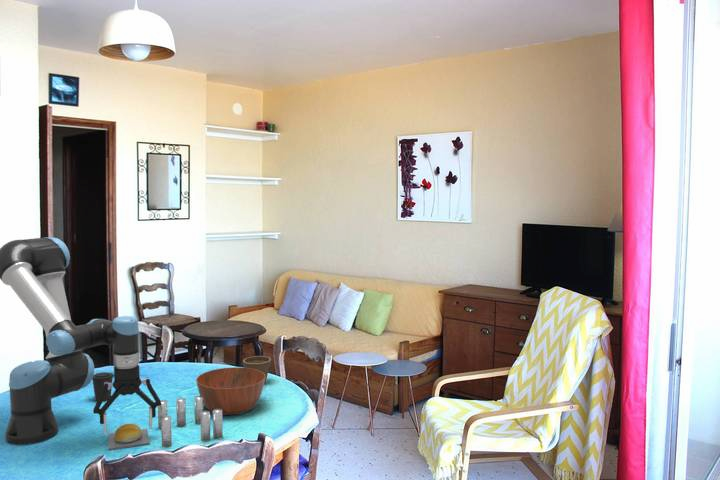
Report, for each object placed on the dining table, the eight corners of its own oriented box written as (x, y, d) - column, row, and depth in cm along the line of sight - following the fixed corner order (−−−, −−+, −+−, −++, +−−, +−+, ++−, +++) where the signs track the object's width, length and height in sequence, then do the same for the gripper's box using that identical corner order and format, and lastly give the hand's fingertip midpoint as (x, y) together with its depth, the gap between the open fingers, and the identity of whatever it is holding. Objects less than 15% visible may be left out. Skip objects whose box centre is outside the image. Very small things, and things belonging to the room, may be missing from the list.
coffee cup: (92, 396, 236) (91, 371, 235) (115, 394, 238) (114, 369, 237) (90, 404, 228) (89, 377, 227) (113, 401, 230) (113, 375, 230)
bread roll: (114, 445, 191) (114, 433, 190) (115, 434, 199) (114, 422, 199) (142, 441, 194) (142, 429, 193) (142, 431, 202) (141, 419, 202)
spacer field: (162, 447, 191) (161, 419, 190) (158, 426, 207) (157, 400, 207) (223, 438, 198) (223, 411, 197) (214, 418, 215) (214, 394, 214)
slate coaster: (108, 450, 189) (108, 448, 189) (108, 435, 200) (108, 433, 200) (149, 444, 193) (149, 442, 193) (147, 430, 204) (147, 428, 204)
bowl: (183, 407, 225) (182, 377, 224) (239, 391, 243) (238, 363, 242) (222, 426, 208) (222, 393, 207) (279, 407, 226) (279, 377, 225)
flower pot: (237, 384, 252) (237, 360, 251) (256, 377, 261) (256, 354, 260) (257, 389, 246) (257, 365, 245) (276, 382, 255) (276, 358, 254)
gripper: (83, 373, 186) (85, 440, 188) (168, 364, 195) (170, 429, 197) (84, 366, 193) (86, 431, 195) (166, 358, 202) (168, 420, 204)
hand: (128, 430), depth 196 cm, fingers open, 13 cm apart
